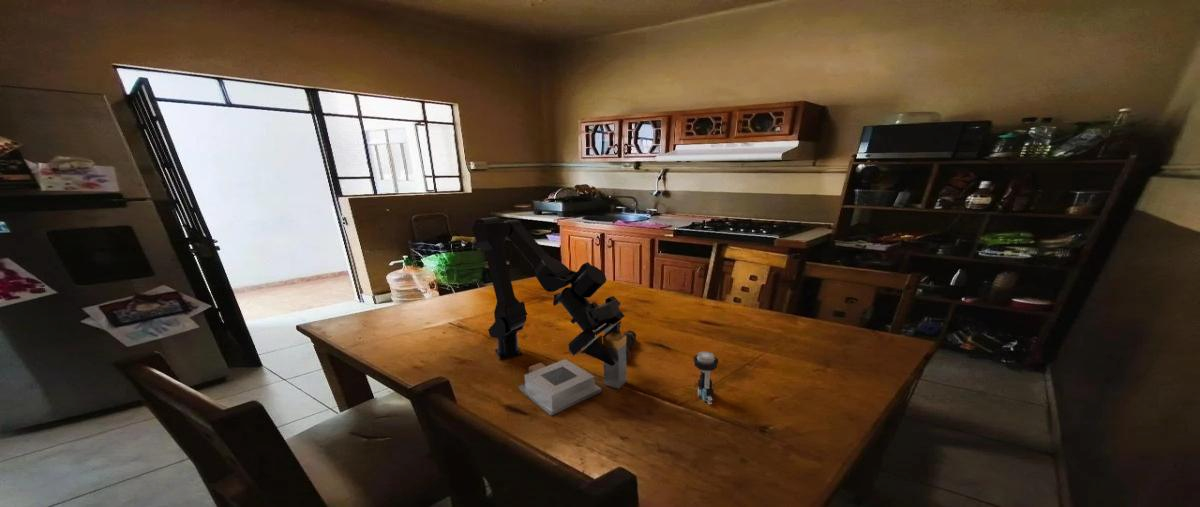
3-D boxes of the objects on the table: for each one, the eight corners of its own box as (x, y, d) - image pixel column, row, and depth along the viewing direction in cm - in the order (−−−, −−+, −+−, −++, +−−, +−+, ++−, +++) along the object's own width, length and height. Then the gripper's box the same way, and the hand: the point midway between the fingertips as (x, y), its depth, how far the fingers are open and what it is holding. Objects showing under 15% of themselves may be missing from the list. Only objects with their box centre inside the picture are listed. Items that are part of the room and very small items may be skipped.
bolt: (633, 346, 117) (622, 368, 103) (619, 337, 118) (606, 357, 104) (643, 331, 115) (632, 351, 101) (628, 322, 116) (616, 341, 102)
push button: (722, 405, 83) (724, 363, 81) (697, 406, 83) (698, 364, 81) (712, 389, 89) (714, 349, 87) (690, 390, 89) (690, 350, 87)
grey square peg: (604, 384, 92) (602, 338, 90) (612, 377, 96) (611, 332, 93) (619, 389, 90) (618, 341, 88) (626, 380, 94) (626, 335, 91)
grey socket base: (510, 382, 95) (509, 368, 94) (557, 363, 103) (556, 350, 103) (550, 415, 81) (550, 399, 80) (601, 391, 89) (601, 376, 89)
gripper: (577, 300, 82) (623, 358, 79) (617, 279, 98) (657, 327, 95) (550, 328, 88) (592, 383, 85) (591, 304, 104) (629, 350, 100)
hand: (620, 358), depth 91 cm, fingers open, 6 cm apart
